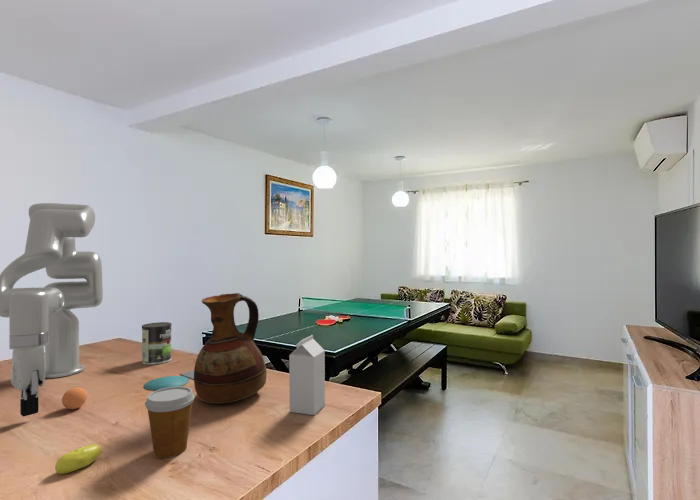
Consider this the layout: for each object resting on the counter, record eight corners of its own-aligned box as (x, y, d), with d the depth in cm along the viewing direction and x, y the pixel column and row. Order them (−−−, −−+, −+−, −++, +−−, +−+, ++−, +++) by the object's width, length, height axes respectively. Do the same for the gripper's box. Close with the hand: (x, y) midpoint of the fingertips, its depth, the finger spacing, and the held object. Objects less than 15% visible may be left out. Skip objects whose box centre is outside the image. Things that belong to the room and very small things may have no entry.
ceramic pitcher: (182, 397, 111) (181, 293, 111) (243, 379, 126) (243, 288, 126) (215, 417, 98) (215, 299, 98) (280, 395, 112) (279, 292, 112)
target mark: (136, 384, 122) (136, 383, 122) (176, 373, 132) (176, 373, 132) (155, 393, 114) (155, 392, 114) (196, 381, 124) (196, 381, 124)
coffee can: (177, 358, 152) (177, 322, 152) (159, 365, 142) (159, 327, 142) (154, 356, 154) (154, 321, 154) (135, 364, 144) (135, 326, 144)
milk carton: (325, 405, 104) (324, 335, 105) (314, 416, 98) (313, 341, 98) (301, 402, 107) (301, 333, 107) (289, 412, 100) (289, 339, 100)
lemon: (50, 473, 73) (50, 453, 73) (97, 455, 80) (97, 436, 80) (59, 481, 71) (59, 460, 71) (106, 461, 77) (106, 442, 77)
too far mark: (180, 374, 132) (180, 373, 132) (206, 367, 139) (206, 366, 139) (195, 380, 125) (195, 379, 125) (222, 372, 133) (222, 372, 133)
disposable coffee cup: (156, 440, 86) (156, 386, 86) (200, 438, 86) (200, 384, 86) (136, 463, 76) (136, 403, 76) (186, 461, 77) (185, 401, 77)
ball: (58, 409, 103) (58, 388, 103) (82, 402, 107) (82, 383, 107) (65, 414, 99) (65, 393, 99) (90, 407, 104) (90, 387, 104)
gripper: (2, 339, 98) (2, 411, 97) (17, 347, 88) (17, 427, 88) (39, 333, 103) (39, 402, 103) (57, 341, 94) (57, 416, 94)
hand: (29, 413), depth 96 cm, fingers closed
